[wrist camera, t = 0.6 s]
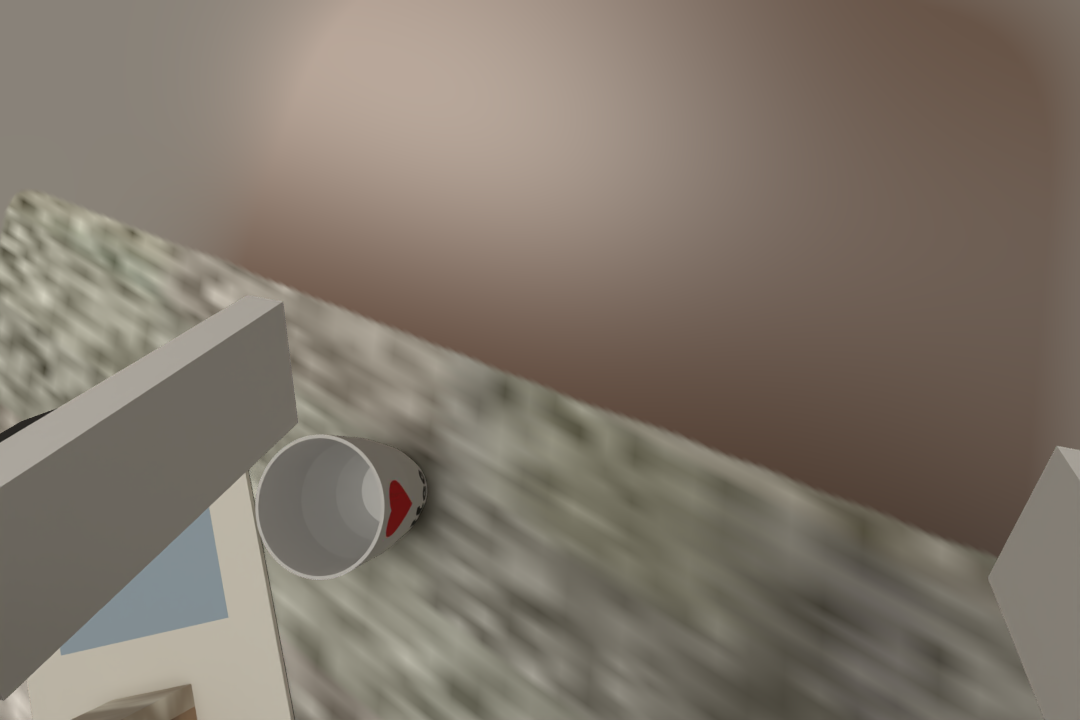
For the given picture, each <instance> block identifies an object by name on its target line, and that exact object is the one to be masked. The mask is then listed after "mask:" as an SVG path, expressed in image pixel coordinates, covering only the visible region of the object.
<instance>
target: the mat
mask: <svg viewBox="0 0 1080 720" xmlns="http://www.w3.org/2000/svg"><path fill="white" fill-rule="evenodd" d="M27 684H28V692H29V699H30V707H31V714H32V720H71V719H73V718H75V717H77V716H80V715H82V714H84V713H86V712H88V711H90V710H92V709H94V708H97V707H99V706H101V705H103V704H105V703H107V702H109V701H111V700H115V699H120V698H125V697H129V696H134V695H139V694H144V693H149V692H153V691H158V690H163V689H168V688H173V687H177V686H182V685H187V684H191V685H192V691H193V697H194V703H195V709H196V715H197V720H295V719H294V714H293V709H292V703H291V698H290V692H289V687H288V682H287V676H286V671H285V665H284V660H283V655H282V649H281V644H280V639H279V633H278V628H277V622H276V617H275V612H274V606H273V601H272V595H271V590H270V585H269V579H268V574H267V568H266V563H265V558H264V552H263V547H262V541H261V536H260V533H259V530H258V526H257V521H256V513H255V504H254V498H253V493H252V488H251V482H250V477H249V471H247V472H246V473H244V474H243V475H242V476H241V477H240V478H239V479H238V480H237V481H236V482H235V483H234V484H233V485H232V486H231V487H230V488H229V489H228V490H226V491H225V492H224V493H223V494H222V495H221V496H220V497H219V498H218V499H217V500H216V501H215V502H214V503H213V504H212V505H211V506H210V507H208V508H207V509H206V510H205V511H204V512H203V513H202V514H201V515H200V516H199V517H198V518H197V519H196V520H195V521H194V522H193V523H192V524H190V525H189V526H188V527H187V528H186V529H185V530H184V531H183V532H182V533H181V534H180V535H179V536H178V537H177V538H176V539H175V540H174V541H172V542H171V543H170V544H169V545H168V546H167V547H166V548H165V549H164V550H163V551H162V552H161V553H160V554H159V555H158V556H157V557H156V558H154V559H153V560H152V561H151V562H150V563H149V564H148V565H147V566H146V567H145V568H144V569H143V570H142V571H141V572H140V573H139V574H138V575H137V576H135V577H134V578H133V579H132V580H131V581H130V582H129V583H128V584H127V585H126V586H125V587H124V588H123V589H122V590H121V591H120V592H119V593H117V594H116V595H115V596H114V597H113V598H112V599H111V600H110V601H109V602H108V603H107V604H106V605H105V606H104V607H103V608H102V609H101V610H99V611H98V612H97V613H96V614H95V615H94V616H93V617H92V618H91V619H90V620H89V621H88V622H87V623H86V624H85V625H84V626H83V627H81V628H80V629H79V630H78V631H77V632H76V633H75V634H74V635H73V636H72V637H71V638H70V639H69V640H68V641H67V642H66V643H65V644H63V645H62V646H61V647H60V648H59V649H58V650H57V651H56V652H55V653H54V654H53V655H52V656H51V657H50V658H49V659H48V660H47V661H45V662H44V663H43V664H42V665H41V666H40V667H39V668H38V669H37V670H36V671H35V672H34V673H33V674H32V675H31V676H30V677H29V678H27Z"/></svg>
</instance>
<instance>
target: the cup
mask: <svg viewBox="0 0 1080 720" xmlns="http://www.w3.org/2000/svg"><path fill="white" fill-rule="evenodd" d="M426 498H427V483H426V479H425V476H424V474H423V472H422V470H421V469H420V467H419V466H418V465H417V464H416V463H415V462H414V461H413V460H411V459H410V458H409V457H408V456H407V455H405V454H404V453H403V452H401V451H400V450H398V449H396V448H394V447H391V446H388V445H384V444H381V443H378V442H375V441H372V440H369V439H365V438H357V437H345V436H334V435H310V436H305V437H302V438H299V439H297V440H295V441H293V442H291V443H289V444H288V445H286V446H285V447H283V448H282V449H281V450H280V451H279V452H278V453H277V454H276V455H275V456H274V457H273V458H272V459H271V461H270V462H269V464H268V465H267V467H266V468H265V470H264V472H263V474H262V477H261V479H260V482H259V485H258V489H257V494H256V502H255V513H256V521H257V526H258V530H259V533H260V536H261V539H262V541H263V543H264V545H265V547H266V548H267V550H268V551H269V553H270V554H271V556H272V557H273V558H274V559H275V560H276V561H277V562H278V563H279V564H280V565H281V566H282V567H284V568H285V569H286V570H288V571H290V572H291V573H293V574H295V575H298V576H300V577H303V578H307V579H314V580H325V579H332V578H336V577H339V576H341V575H344V574H346V573H348V572H350V571H351V570H353V569H355V568H357V567H359V566H360V565H362V564H364V563H366V562H368V561H369V560H371V559H373V558H375V557H377V556H378V555H380V554H382V553H383V552H385V551H386V550H387V549H389V548H390V547H391V546H392V545H393V544H394V543H395V542H397V541H398V540H399V539H400V538H401V537H402V536H403V535H404V534H406V533H407V532H408V531H409V530H410V529H411V528H412V526H413V525H414V524H415V522H416V520H417V519H418V517H419V515H420V513H421V511H422V509H423V507H424V505H425V502H426Z"/></svg>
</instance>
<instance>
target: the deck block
mask: <svg viewBox="0 0 1080 720" xmlns="http://www.w3.org/2000/svg"><path fill="white" fill-rule="evenodd" d="M71 720H197V715H196V709H195V703H194V697H193V691H192V685H191V684H187V685H182V686H177V687H173V688H168V689H163V690H158V691H153V692H149V693H144V694H139V695H134V696H129V697H125V698H120V699H115V700H111V701H109V702H107V703H105V704H103V705H101V706H99V707H97V708H94V709H92V710H90V711H88V712H86V713H84V714H82V715H80V716H77V717H75V718H73V719H71Z"/></svg>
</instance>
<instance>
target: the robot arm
mask: <svg viewBox="0 0 1080 720" xmlns="http://www.w3.org/2000/svg"><path fill="white" fill-rule="evenodd" d="M297 423H298V418H297V409H296V401H295V393H294V385H293V377H292V369H291V361H290V353H289V345H288V337H287V329H286V321H285V312H284V304H283V301H278V300H273V299H267V298H262V297H257V296H251V295H246V296H245V297H243V298H241V299H240V300H238V301H236V302H235V303H233V304H231V305H230V306H228V307H226V308H225V309H223V310H221V311H220V312H218V313H216V314H215V315H213V316H211V317H209V318H208V319H206V320H204V321H203V322H201V323H199V324H198V325H196V326H194V327H193V328H191V329H189V330H188V331H186V332H184V333H183V334H181V335H179V336H178V337H176V338H174V339H173V340H171V341H169V342H168V343H166V344H164V345H163V346H161V347H159V348H158V349H156V350H154V351H153V352H151V353H149V354H148V355H146V356H144V357H143V358H141V359H139V360H138V361H136V362H134V363H133V364H131V365H129V366H128V367H126V368H124V369H123V370H121V371H119V372H117V373H116V374H114V375H112V376H111V377H109V378H107V379H106V380H104V381H102V382H101V383H99V384H97V385H96V386H94V387H92V388H91V389H89V390H87V391H86V392H84V393H82V394H81V395H79V396H77V397H76V398H74V399H72V400H71V401H69V402H67V403H66V404H64V405H62V406H61V407H59V408H57V409H54V410H51V411H49V412H46V413H43V414H40V415H38V416H35V417H32V418H29V419H27V420H24V421H21V422H19V423H18V424H16V425H14V426H13V427H11V428H9V429H7V430H6V431H4V432H2V433H1V434H0V700H3V701H4V700H5V699H6V698H7V697H8V696H10V695H11V694H12V693H13V692H14V691H15V690H16V689H17V688H18V687H19V686H20V685H21V684H22V683H23V682H24V681H25V680H26V679H27V678H29V677H30V676H31V675H32V674H33V673H34V672H35V671H36V670H37V669H38V668H39V667H40V666H41V665H42V664H43V663H44V662H45V661H47V660H48V659H49V658H50V657H51V656H52V655H53V654H54V653H55V652H56V651H57V650H58V649H59V648H60V647H61V646H62V645H63V644H65V643H66V642H67V641H68V640H69V639H70V638H71V637H72V636H73V635H74V634H75V633H76V632H77V631H78V630H79V629H80V628H81V627H83V626H84V625H85V624H86V623H87V622H88V621H89V620H90V619H91V618H92V617H93V616H94V615H95V614H96V613H97V612H98V611H99V610H101V609H102V608H103V607H104V606H105V605H106V604H107V603H108V602H109V601H110V600H111V599H112V598H113V597H114V596H115V595H116V594H117V593H119V592H120V591H121V590H122V589H123V588H124V587H125V586H126V585H127V584H128V583H129V582H130V581H131V580H132V579H133V578H134V577H135V576H137V575H138V574H139V573H140V572H141V571H142V570H143V569H144V568H145V567H146V566H147V565H148V564H149V563H150V562H151V561H152V560H153V559H154V558H156V557H157V556H158V555H159V554H160V553H161V552H162V551H163V550H164V549H165V548H166V547H167V546H168V545H169V544H170V543H171V542H172V541H174V540H175V539H176V538H177V537H178V536H179V535H180V534H181V533H182V532H183V531H184V530H185V529H186V528H187V527H188V526H189V525H190V524H192V523H193V522H194V521H195V520H196V519H197V518H198V517H199V516H200V515H201V514H202V513H203V512H204V511H205V510H206V509H207V508H208V507H210V506H211V505H212V504H213V503H214V502H215V501H216V500H217V499H218V498H219V497H220V496H221V495H222V494H223V493H224V492H225V491H226V490H228V489H229V488H230V487H231V486H232V485H233V484H234V483H235V482H236V481H237V480H238V479H239V478H240V477H241V476H242V475H243V474H244V473H246V472H247V471H248V470H249V469H250V468H251V467H252V466H253V465H254V464H255V463H256V462H257V461H258V460H259V459H260V458H261V457H262V456H264V455H265V454H266V453H267V452H268V451H269V450H270V449H271V448H272V447H273V446H274V445H275V444H276V443H277V442H278V441H279V440H280V439H281V438H283V437H284V436H285V435H286V434H287V433H288V432H289V431H290V430H291V429H292V428H293V427H294V426H295V425H296V424H297ZM988 580H989V582H990V585H991V587H992V590H993V592H994V595H995V597H996V600H997V602H998V605H999V607H1000V610H1001V612H1002V615H1003V617H1004V620H1005V622H1006V625H1007V627H1008V630H1009V632H1010V635H1011V637H1012V640H1013V642H1014V645H1015V647H1016V650H1017V652H1018V655H1019V657H1020V660H1021V662H1022V665H1023V667H1024V670H1025V672H1026V675H1027V677H1028V680H1029V682H1030V685H1031V687H1032V690H1033V692H1034V695H1035V697H1036V700H1037V702H1038V705H1039V707H1040V710H1041V712H1042V715H1043V717H1044V720H1080V450H1076V449H1071V448H1065V447H1060V446H1056V448H1055V450H1054V452H1053V454H1052V456H1051V458H1050V460H1049V462H1048V463H1047V466H1046V467H1045V469H1044V471H1043V473H1042V475H1041V477H1040V479H1039V481H1038V483H1037V485H1036V487H1035V488H1034V490H1033V492H1032V494H1031V496H1030V498H1029V500H1028V502H1027V504H1026V506H1025V508H1024V509H1023V511H1022V513H1021V515H1020V517H1019V519H1018V521H1017V523H1016V525H1015V527H1014V529H1013V531H1012V532H1011V534H1010V536H1009V538H1008V540H1007V542H1006V544H1005V546H1004V548H1003V550H1002V552H1001V554H1000V555H999V557H998V559H997V561H996V563H995V565H994V567H993V569H992V571H991V573H990V575H989V576H988Z"/></svg>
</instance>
